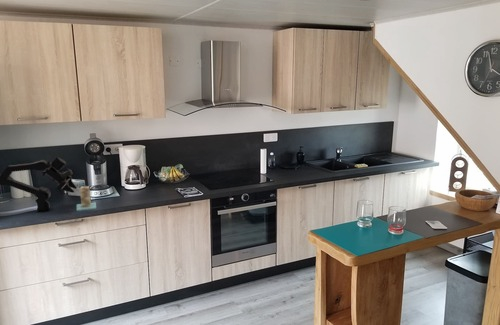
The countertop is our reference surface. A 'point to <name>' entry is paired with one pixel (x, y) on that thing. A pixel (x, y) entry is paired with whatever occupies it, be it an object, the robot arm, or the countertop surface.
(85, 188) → the beech block
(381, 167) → the countertop surface
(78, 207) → the teal pad
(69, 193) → the light bulb box
